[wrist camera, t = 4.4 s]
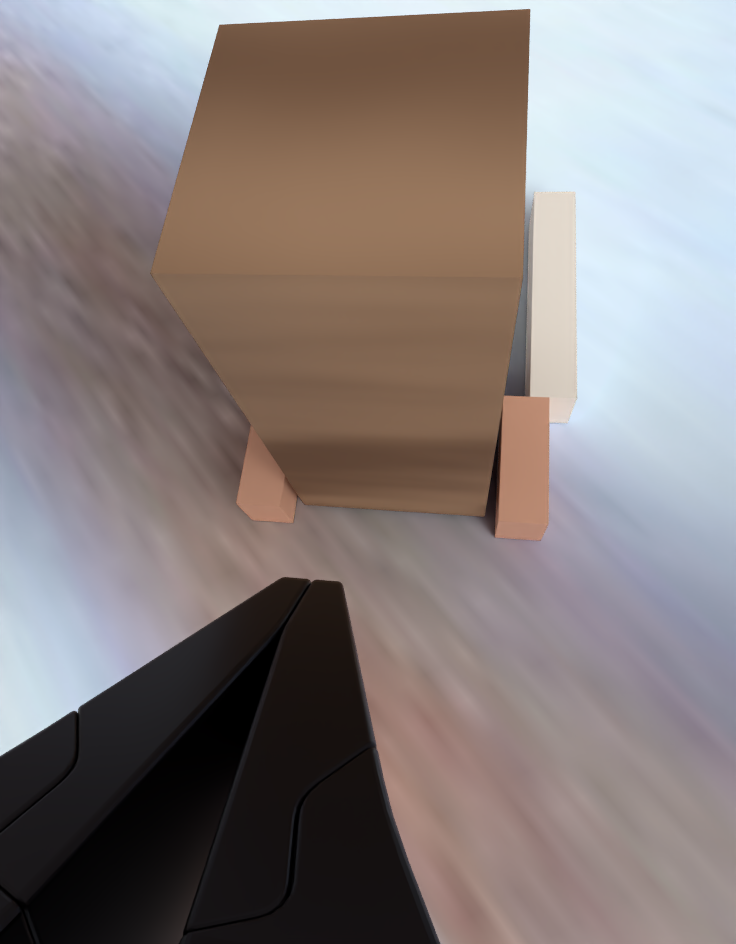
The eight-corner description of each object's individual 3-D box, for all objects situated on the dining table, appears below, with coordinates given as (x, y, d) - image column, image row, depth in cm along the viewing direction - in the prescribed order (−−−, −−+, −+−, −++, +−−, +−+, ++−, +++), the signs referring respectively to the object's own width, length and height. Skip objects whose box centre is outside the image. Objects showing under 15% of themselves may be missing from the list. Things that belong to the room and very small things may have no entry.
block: (484, 516, 17) (522, 277, 8) (304, 504, 18) (150, 273, 9) (491, 356, 19) (529, 9, 10) (327, 351, 20) (219, 24, 11)
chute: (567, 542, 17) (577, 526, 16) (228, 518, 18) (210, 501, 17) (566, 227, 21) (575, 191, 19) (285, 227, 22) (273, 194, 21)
